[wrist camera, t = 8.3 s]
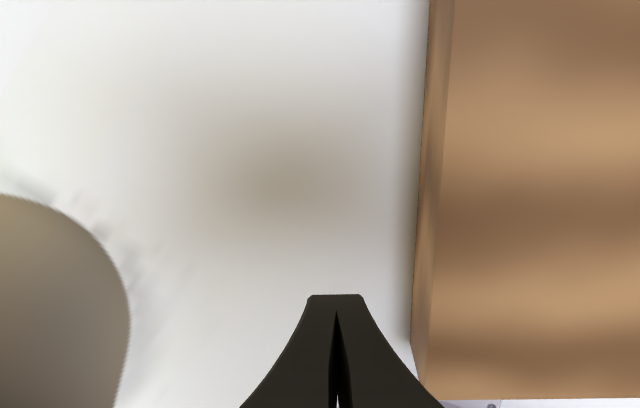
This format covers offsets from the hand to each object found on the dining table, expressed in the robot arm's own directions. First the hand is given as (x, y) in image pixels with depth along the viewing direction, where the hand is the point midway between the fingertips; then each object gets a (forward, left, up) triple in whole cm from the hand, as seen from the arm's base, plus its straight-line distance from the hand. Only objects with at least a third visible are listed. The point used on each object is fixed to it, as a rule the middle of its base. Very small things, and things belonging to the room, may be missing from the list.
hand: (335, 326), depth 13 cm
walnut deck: (0, -10, -10) cm, 14 cm away
